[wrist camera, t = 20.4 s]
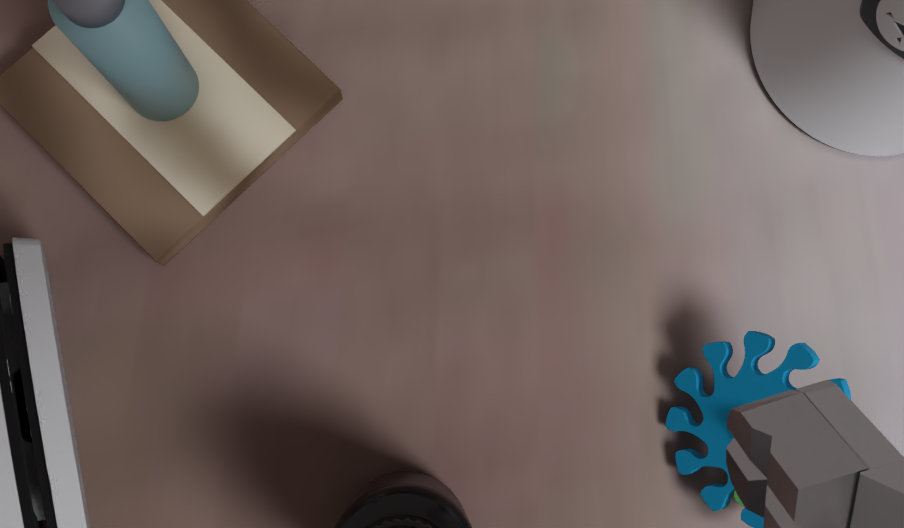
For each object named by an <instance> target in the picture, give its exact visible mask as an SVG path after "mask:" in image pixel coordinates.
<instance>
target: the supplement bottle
mask: <svg viewBox="0 0 904 528" xmlns="http://www.w3.org/2000/svg"><path fill="white" fill-rule="evenodd" d="M335 528H472V527H471V524H470V522H469V520H468V518H467V515H466V513H465V511H464V509H463V507H462V505H461V503H460V502H459V500H458V499H457V497H456V496H455V494H454V493H453V492H452V491H451V490H450V489H449V488H448V487H447V486H446V485H444V484H443V483H442V482H440V481H439V480H437V479H435V478H433V477H431V476H429V475H426V474H423V473H419V472H412V471H401V472H394V473H390V474H386V475H384V476H381V477H379V478H377V479H375V480H374V481H372V482H370V483H369V484H368V485H366V486H365V487H364V488H363V489H362V490H361V491H360V492H359V493H358V494H357V495H356V497H355V498H354V499H353V500H352V502H351V503H350V505H349V506H348V508H347V509H346V511H345V512H344V514H343V515H342V517H341V518H340V520H339V522H338V523H337V525H336V527H335Z"/></svg>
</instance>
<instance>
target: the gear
mask: <svg viewBox="0 0 904 528" xmlns="http://www.w3.org/2000/svg"><path fill="white" fill-rule="evenodd" d="M774 345H775V339H774V338H773V337H771V336H770V335H767V334H765V333H761V332H756V331H748V332H747V333H746V335H745V337H744V346H745V359H744V362H743V365H742V367H741V369H740V371H739V372H738V374H737V375H736V376H735V377H734V378H733V377H731V376H730V375H729V374H728V372H727V369H726V366H727V363H728V362H729V360H730V358H731V356H732V353H733V349H732V345H731V344H730V342H713V343H709V344H707V345H704V346H703V354H704V356H705V358H706V359H707V360H708V362H709V363H710V365H711V367H712V370H713V373H714V392H713V394H712V395H711V396H708V395H707V394H706V393H705V392H704V389H703V375H702V373H701V371H700V370H699V369H698V368H696V367H690V368H686V369H684V370H683V371H682V372H681V373H680V374H679V375H678V376H677V377H676V378H675V379H674V381H675V384H676V386H677V387H678V388H679V389H680V390H682V391H685V392H686V393H688V394H689V395H691V396H692V397H693V398H694V399H695V401H696V402H697V404H698V405H699V407H700V409H701V411H702V413H703V417H704V419H703V422H702V424H701V425H699V424H697V423H696V422H695V421H694V419H693V417H692V415H691V413H690V411H689V410H688V409H687V408H685V407H682V406H678V407H671V409H670V410H669V412H668V415H667V419H666V427H667V428H668V429H669V430H671V431H686V432H690V433H692V434H694V435H696V436H697V437H699V438H700V439H701V440H703V441H704V442H705V443H706V444H707V446H708V455H707V456H706V457H704V456H702V455H701V454H699V453H698V452H697V451H695V450H694V449H684V450H679V451H677V452H676V456H675V458H676V464H677V468H678V471H679V473H680V474H684V475H686V474H691V473H694V472H697V471H698V470H699V469H700V468H702V467H704V466H713V467H719V468H722V469H723V470H725V472H726V473H727V475H728V482H727V484H726V485H722V484H713V485H710V486H707V487H705V488H703V489H702V491H701V496H702V498H703V500H704V501H705V503H706V504H707V505H708V506H709V507H710V508H711V509H712V510H713V511H718V510H720V509H723V508H725V507H727V506H728V504H729V502H730V499H731V497H732V495H733V493H734V497H735V500H736V501H737V503H738V504H740V505H742V506H744V504H743V503H742V501H741V500H740V498H739V497H738V495H737V493H736V491H735V489H734V487H733V485H732V483H731V480H730V476H729V472H728V469H727V465H726V447H727V446H728V445H729V443H730V442H731V441H732V440H733V438H734V437H733V435H732V434H731V432H730V431H729V429H728V428H727V419H728V414H729V412H730V410H731V409H732V408H735V407H739V406H742V405H745V404H748V403H751V402H754V401H758V400H761V399H764V398H767V397H770V396H773V395H777V394H780V393H783V392H786V391H789V390H796V389H797V388H795V387H793V386H792V385H791V384H790V382H789V374H790V372H791V371H792V370H794V369H800V370H801V369H811V368H813V367H815V366H816V365H817V364H818V362H819V358H818V356H817V355H816V353H815V352H814V351H813V350H812V349H811V348H810V347H809V346H808V345H807V344H805V343H797V344H794V345H792V346H791V347H790V349H789V350H788V353H787V356H786V358H785V360H784V361H783V363H782V364H781V365H780V366H779V367H778V368H777V369H775V370H773V371H772V372H770V373H768V374H763V373H762V372H760V370H759V369H758V365H757V363H758V360H759V358H760V357H762V356H763V355H765V354H767V353H769V352H770V351H771V350H772V349H773V348H774ZM829 381H831V382H833V383H835V384H836V385H837V386H838V387H839V388H840V389H841V390H842V391H843V392H844V393H845V394H846V395H847V396H848V398H849V399H850V400H851V394H850V390H849V387H848V384H847V381H846V380H845V379H840V378H838V379H831V380H829ZM741 520H742V521H743V522H745V523H746V524H748V525H749V526H751V527H754V528H763V525H764V518H763V517H761V516H759V515H757V514H755V513H753V512H751V511H749V510H747V509H746V508H744V509H743V510H742V513H741Z"/></svg>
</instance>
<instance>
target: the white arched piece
mask: <svg viewBox="0 0 904 528" xmlns="http://www.w3.org/2000/svg"><path fill="white" fill-rule="evenodd" d="M4 257H5V265H6V271H5V265H4V260H3V259H2V257H1V256H0V528H46V527H45V526H44V524H43V523H41V524H38V521H40V520H46V524H47V528H90V522H89V516H88V510H87V504H86V498H85V492H84V486H83V480H82V474H81V468H80V462H79V456H78V450H77V444H76V438H75V432H74V426H73V420H72V414H71V408H70V402H69V396H68V390H67V384H66V378H65V372H64V366H63V360H62V354H61V348H60V342H59V336H58V330H57V324H56V318H55V312H54V306H53V300H52V294H51V288H50V282H49V276H48V270H47V264H46V258H45V253H44V250H43V247H42V245H41V242H40V239H32V238H15V237H13V238H12V243H8V244H4ZM6 272H7V278H6ZM7 280H8V282H7ZM19 369H21V376H22V382H23V389H24V395H25V402H26V408H27V414H28V420H29V426H30V432H31V438H32V443H29V442H27V441H25V440H24V439H23V438H22V434H21V428H20V421H19V415H18V408H17V402H16V395H15V389H14V382H13V376H14V374H15V373H16V372H17V371H18V370H19Z"/></svg>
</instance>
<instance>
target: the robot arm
mask: <svg viewBox="0 0 904 528" xmlns="http://www.w3.org/2000/svg"><path fill="white" fill-rule="evenodd" d="M750 40H751V49H752V54H753V59H754V62H755V66H756V69H757V72H758V74H759V77H760V79H761V81H762V83H763V85H764V87H765V89H766V90H767V92H768V94H769V95H770V97H771V98H772V100H773V101H774V103H775V104H776V105H777V106H778V108H779V109H780V110H781V111H782V112H783V113H784V114H785V115H786V116H787V117H788V118H789V119H790V120H791V121H792V122H793V123H794V124H795V125H796V126H798V127H799V128H800V129H802V130H803V131H804V132H806V133H807V134H809V135H810V136H812V137H813V138H815V139H817V140H819V141H821V142H823V143H825V144H827V145H829V146H831V147H834V148H837V149H839V150H843V151H846V152H850V153H854V154H860V155H867V156H893V155H900V154H904V0H753V8H752V16H751V25H750ZM727 428H728V429H729V431H730V432H731V434H732V435H733V437H734V438H733V440H732V441H731V442H730V443H729V445H728V446H727V447H726V465H727V469H728V472H729V476H730V480H731V483H732V485H733V487H734V489H735V491H736V493H737V495H738V497H739V498H740V500H741V501H742V503H743V504H744V506H745V508H746V509H747V510H749V511H751V512H753V513H755V514H757V515H759V516H761V517H763V518H764V525H763V528H904V457H903V456H902V455H901V454H900V452H899V451H898V450H897V449H896V448H895V447H894V446H893V445H892V444H891V443H890V442H889V441H888V440H887V438H886V437H885V436H884V435H883V434H882V433H881V432H880V431H879V430H878V429H877V428H876V427H875V426H874V424H873V423H872V422H871V421H870V420H869V419H868V418H867V417H866V416H865V415H864V414H863V413H862V412H861V410H860V409H859V408H858V407H857V406H856V405H855V404H854V403H853V402H852V401H851V400H850V399H849V398H848V396H847V395H846V394H845V393H844V392H843V391H842V390H841V389H840V388H839V387H838V386H837V385H836V384H835V383H833V382H831V381H829V380H825V381H822V382H818V383H815V384H812V385H808V386H805V387H802V388H798V389H796V390H789V391H786V392H783V393H780V394H777V395H773V396H770V397H767V398H764V399H761V400H758V401H754V402H751V403H748V404H745V405H742V406H739V407H735V408H732V409H731V410H730V412H729V414H728V419H727Z"/></svg>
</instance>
